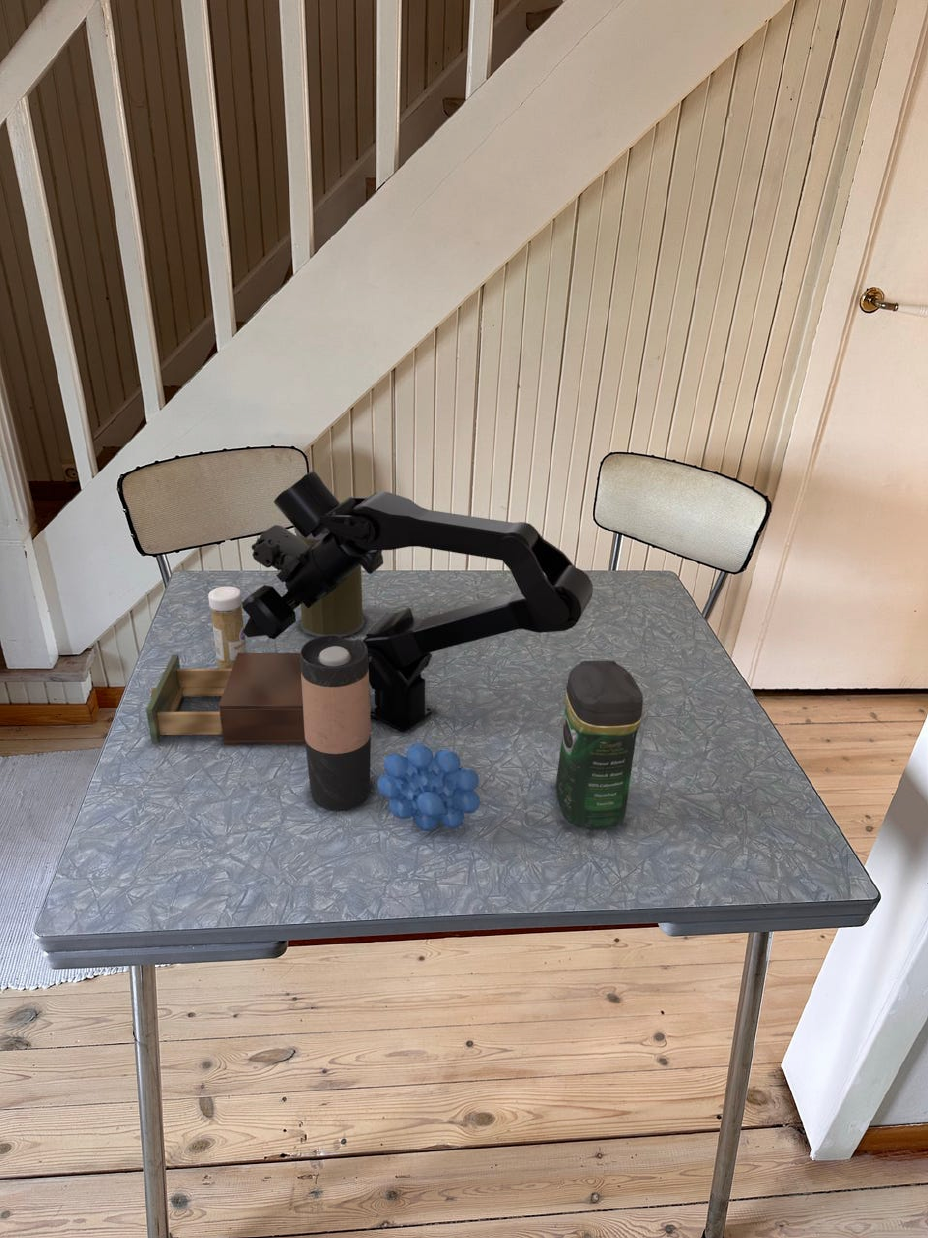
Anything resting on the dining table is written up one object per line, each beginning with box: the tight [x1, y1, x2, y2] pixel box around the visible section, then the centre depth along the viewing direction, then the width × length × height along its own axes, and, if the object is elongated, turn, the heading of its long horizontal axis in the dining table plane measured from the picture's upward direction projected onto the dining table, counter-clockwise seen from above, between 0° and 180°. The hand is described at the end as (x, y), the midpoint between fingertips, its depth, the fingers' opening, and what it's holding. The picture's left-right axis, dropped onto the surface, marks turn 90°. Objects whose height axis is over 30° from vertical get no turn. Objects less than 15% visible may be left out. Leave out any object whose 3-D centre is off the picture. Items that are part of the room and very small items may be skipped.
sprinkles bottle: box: [207, 586, 248, 669], centre depth 122 cm, size 5×5×14 cm
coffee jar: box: [555, 659, 644, 831], centre depth 97 cm, size 10×8×19 cm
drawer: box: [145, 654, 232, 745], centre depth 114 cm, size 13×14×5 cm
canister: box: [293, 526, 365, 639], centre depth 135 cm, size 11×10×20 cm
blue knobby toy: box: [376, 743, 481, 832], centre depth 93 cm, size 12×7×12 cm, turn 93°
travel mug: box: [299, 634, 372, 812], centre depth 98 cm, size 8×8×20 cm
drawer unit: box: [218, 652, 306, 746], centre depth 114 cm, size 12×13×6 cm
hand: (264, 619), depth 118 cm, fingers open, 9 cm apart
